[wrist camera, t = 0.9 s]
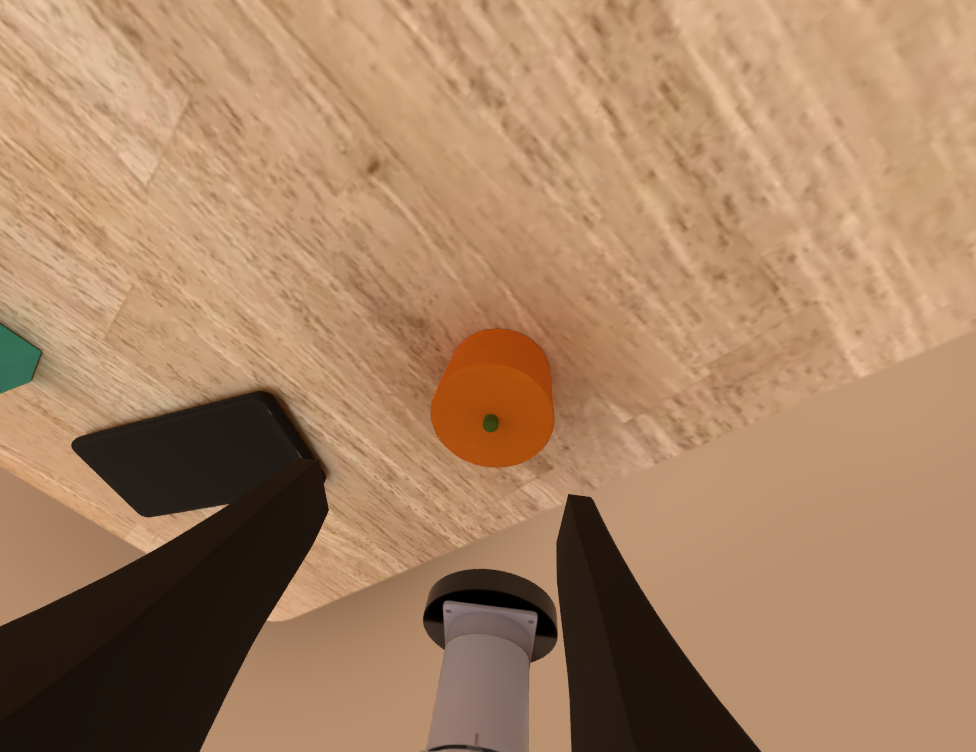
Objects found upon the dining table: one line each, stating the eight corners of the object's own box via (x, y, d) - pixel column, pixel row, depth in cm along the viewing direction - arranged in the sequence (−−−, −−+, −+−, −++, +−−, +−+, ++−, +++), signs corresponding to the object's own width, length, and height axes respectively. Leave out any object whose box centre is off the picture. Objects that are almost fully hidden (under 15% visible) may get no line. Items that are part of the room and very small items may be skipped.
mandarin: (545, 422, 19) (548, 480, 15) (450, 414, 19) (430, 469, 15) (555, 331, 16) (562, 374, 13) (447, 325, 17) (423, 364, 13)
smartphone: (325, 489, 22) (142, 520, 25) (332, 479, 22) (154, 510, 26) (260, 393, 19) (63, 443, 22) (270, 385, 19) (78, 434, 23)
